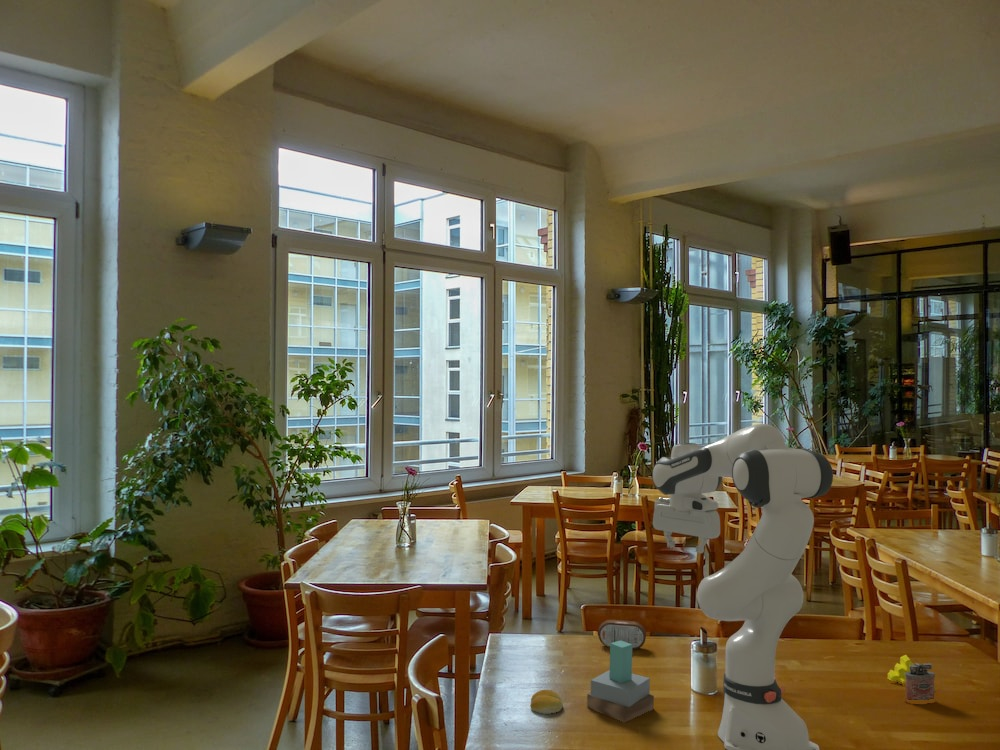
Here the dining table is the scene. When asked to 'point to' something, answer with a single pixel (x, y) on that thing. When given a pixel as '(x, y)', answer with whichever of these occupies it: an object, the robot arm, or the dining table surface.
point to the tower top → (620, 689)
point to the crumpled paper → (900, 670)
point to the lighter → (920, 682)
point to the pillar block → (620, 661)
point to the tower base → (621, 707)
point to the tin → (622, 633)
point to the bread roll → (546, 702)
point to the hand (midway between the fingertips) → (685, 549)
